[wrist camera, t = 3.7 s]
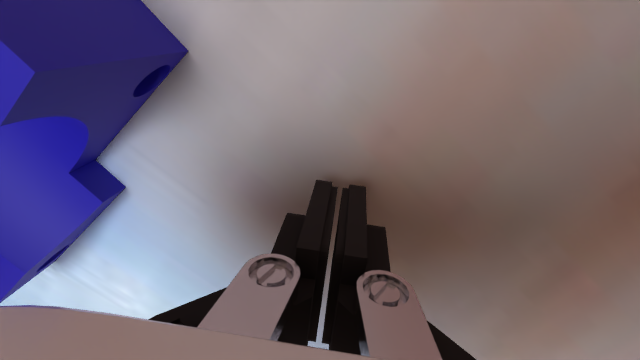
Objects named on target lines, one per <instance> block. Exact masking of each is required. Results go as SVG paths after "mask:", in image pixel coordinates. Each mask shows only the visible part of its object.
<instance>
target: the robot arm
mask: <svg viewBox="0 0 640 360" xmlns="http://www.w3.org/2000/svg"><path fill="white" fill-rule="evenodd" d="M337 189H338V187H333V186H332V182H328V181H321V180H316V183H315V186H314V190H313V193H312V196H311V200H310V203H309V207H308V210H307V213H306V216H305V215H299V214H292V213H287V215H286V217H285V220H284V222H283V225H282V227H281V230H280V232H279V235H278V237H277V240H276V242H275V245H274V247H273V250H272V252H271V254H263V255H258V256H256V257H254V258H252V259H250V260H249V261H248V262H247V263H246V264H245V265H244V266H243V267H242V269H241V270H240V271H239V273H238V274H237V275H236V276H235V278H234V279H233V280H232V282H231V283H230V284H229V286H228V287H227V288H224V289H222V290H219V291H217V292H214V293H212V294H209V295H207V296H204V297H201V298H199V299H196V300H194V301H191V302H189V303H186V304H184V305H181V306H179V307H176V308H174V309H171V310H169V311H166V312H164V313H161V314H159V315H156V316H154V317H152V318H150V319H148V320H147V319H141V318H135V317H129V316H123V315H117V314H111V313H103V312H95V311H87V310H80V309H72V308H64V307H54V306H36V305H22V306H0V360H476V359H475V358H474V357H472V356H471V355H470V354H469V353H467V352H466V351H465V350H464V349H462V348H461V347H460V346H458V345H457V344H456V343H455V342H453V341H452V340H451V339H450V338H448V337H447V336H446V335H445V334H443V333H442V332H441V331H440V330H438V329H437V328H436V327H435V326H433V325H432V324H431V323H429V322H428V321H427V320H426V318H425V316H424V313H423V311H422V308H421V306H420V303H419V301H418V298H417V296H416V293H415V291H414V289H413V288H412V286H411V284H409V283H408V282H407V281H406V280H405V279H404V278H402V277H400V276H399V275H397V274H394V273H392V272H390V263H389V255H388V246H387V238H386V230H385V227H380V226H373V225H367V216H366V187H363V186H356V185H350V186H349V189H347V188H343V190H342V197H341V204H340V211H339V217H338V224H337V231H336V238H335V245H334V251H333V258H332V266H331V274H330V282H329V290H328V298H327V306H326V314H325V322H324V330H323V338H322V343H326V344H329V350H327V349H322V348H316V347H310V346H307V345H308V341H314V342H316V336H317V329H318V322H319V315H320V309H321V302H322V295H323V288H324V281H325V274H326V267H327V260H328V253H329V246H330V239H331V232H332V225H333V218H334V211H335V204H336V196H337Z"/></svg>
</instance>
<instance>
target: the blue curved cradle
mask: <svg viewBox="0 0 640 360" xmlns="http://www.w3.org/2000/svg"><path fill="white" fill-rule="evenodd" d="M187 52H188V50H187V49H186V48H185V47H184V46H183V45H182V44H181V43H180V41H179V40H178V39H177V38H176V37H175V36H174V35H173V34H172V33H171V32H170V31H169V30H168V29H167V28H166V27H165V26H164V25H163V23H162V22H161V21H160V20H159V19H158V18H157V17H156V16H155V15H154V14H153V13H152V12H151V11H150V10H149V9H148V8H147V7H146V5H145V4H144V3H143V2H142V1H141V0H0V303H1V302H2V301H3V300H5V299H6V298H7V297H9V296H10V295H11V294H13V293H14V292H15V291H16V290H18V289H19V288H20V287H22V286H23V285H24V284H26V283H27V282H28V281H30V280H31V279H32V278H34V277H35V276H36V275H38V274H39V273H40V272H41V271H43V270H44V269H45V268H47V267H48V266H49V265H51V264H52V263H53V262H55V261H56V260H57V259H58V258H59V257H60V256H61V254H62V253H63V252H64V251H65V250H66V249H67V248H68V247H69V246H70V245H71V244H72V243H73V242H74V241H75V240H76V239H77V238H78V237H79V236H80V235H81V233H82V232H83V231H84V230H85V229H86V228H87V227H88V226H89V225H90V224H91V223H92V222H93V221H94V220H95V219H96V218H97V217H98V216H99V215H100V214H101V213H102V211H103V210H104V209H105V208H106V207H107V206H108V205H109V204H110V203H111V202H112V201H113V200H114V199H115V198H116V197H117V196H118V195H119V194H120V193H121V192H122V191H123V189H124V188H125V186H124V185H123V184H122V183H121V182H120V181H118V180H117V179H116V178H115V177H114V176H113V175H112V174H111V173H109V172H108V171H107V170H106V169H105V168H104V167H103V166H102V165H100V164H99V163H98V162H97V161H96V158H97V157H98V156H99V155H100V154H101V153H102V151H103V150H104V149H105V148H106V147H107V146H108V144H109V143H110V142H111V141H112V140H113V139H114V137H115V136H116V135H117V134H118V133H119V132H120V130H121V129H122V128H123V127H124V126H125V125H126V123H127V122H128V121H129V120H130V119H131V118H132V116H133V115H134V114H135V113H136V112H137V111H138V109H139V108H140V107H141V106H142V105H143V104H144V102H145V101H146V100H147V99H148V98H149V97H150V95H151V94H152V93H153V92H154V91H155V90H156V88H157V87H158V86H159V85H160V84H161V83H162V81H163V80H164V79H165V78H166V77H167V76H168V74H169V73H170V72H171V71H172V70H173V69H174V67H175V66H176V65H177V64H178V63H179V62H180V60H181V59H182V58H183V57H184V56H185V55H186V53H187Z"/></svg>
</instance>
